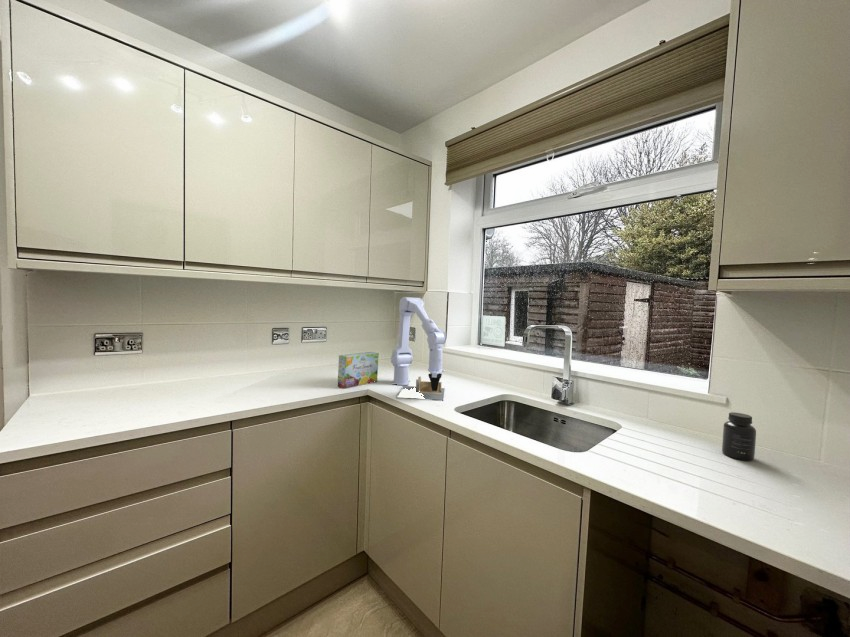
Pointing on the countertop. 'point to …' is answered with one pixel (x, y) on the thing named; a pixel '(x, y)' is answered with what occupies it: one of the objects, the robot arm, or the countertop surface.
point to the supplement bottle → (739, 437)
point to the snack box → (357, 369)
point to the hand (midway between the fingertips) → (434, 390)
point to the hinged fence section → (428, 387)
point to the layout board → (427, 394)
